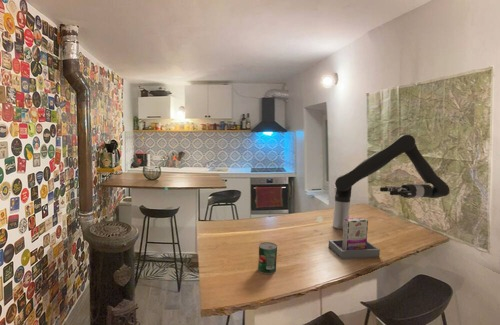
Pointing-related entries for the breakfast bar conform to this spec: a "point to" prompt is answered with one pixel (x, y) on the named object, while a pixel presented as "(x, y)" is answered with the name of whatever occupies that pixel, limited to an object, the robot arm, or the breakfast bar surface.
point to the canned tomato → (267, 258)
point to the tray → (353, 251)
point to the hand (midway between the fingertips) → (385, 191)
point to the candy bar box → (355, 234)
